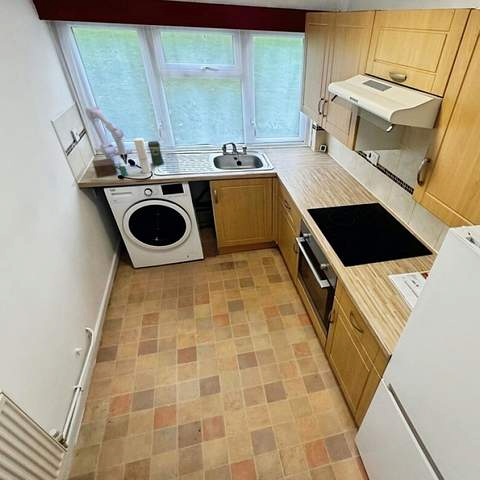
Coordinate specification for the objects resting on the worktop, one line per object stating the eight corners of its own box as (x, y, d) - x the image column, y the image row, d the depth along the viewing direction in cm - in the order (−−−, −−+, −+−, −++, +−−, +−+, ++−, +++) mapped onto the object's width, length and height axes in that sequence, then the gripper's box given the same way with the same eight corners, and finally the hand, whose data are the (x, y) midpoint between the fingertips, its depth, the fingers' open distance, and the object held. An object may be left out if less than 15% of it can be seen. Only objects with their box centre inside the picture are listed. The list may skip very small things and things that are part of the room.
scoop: (127, 173, 240) (123, 161, 234) (128, 175, 237) (124, 163, 231) (115, 175, 236) (111, 163, 230) (116, 177, 233) (112, 165, 227)
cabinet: (114, 168, 247) (111, 158, 242) (116, 174, 238) (112, 163, 232) (96, 171, 242) (92, 160, 237) (97, 177, 232) (93, 166, 227)
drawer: (120, 167, 248) (118, 158, 244) (123, 172, 240) (120, 163, 235) (99, 170, 242) (96, 161, 238) (100, 175, 233) (97, 166, 229)
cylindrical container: (152, 169, 248) (144, 138, 232) (149, 172, 242) (141, 140, 227) (144, 169, 248) (135, 137, 232) (140, 172, 242) (132, 140, 227)
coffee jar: (163, 161, 264) (159, 139, 252) (164, 164, 258) (159, 142, 246) (152, 162, 261) (147, 140, 250) (152, 165, 255) (147, 143, 244)
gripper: (111, 149, 229) (117, 166, 238) (131, 146, 234) (136, 164, 243) (110, 146, 234) (116, 163, 242) (130, 144, 239) (134, 161, 248)
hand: (126, 163), depth 243 cm, fingers closed
